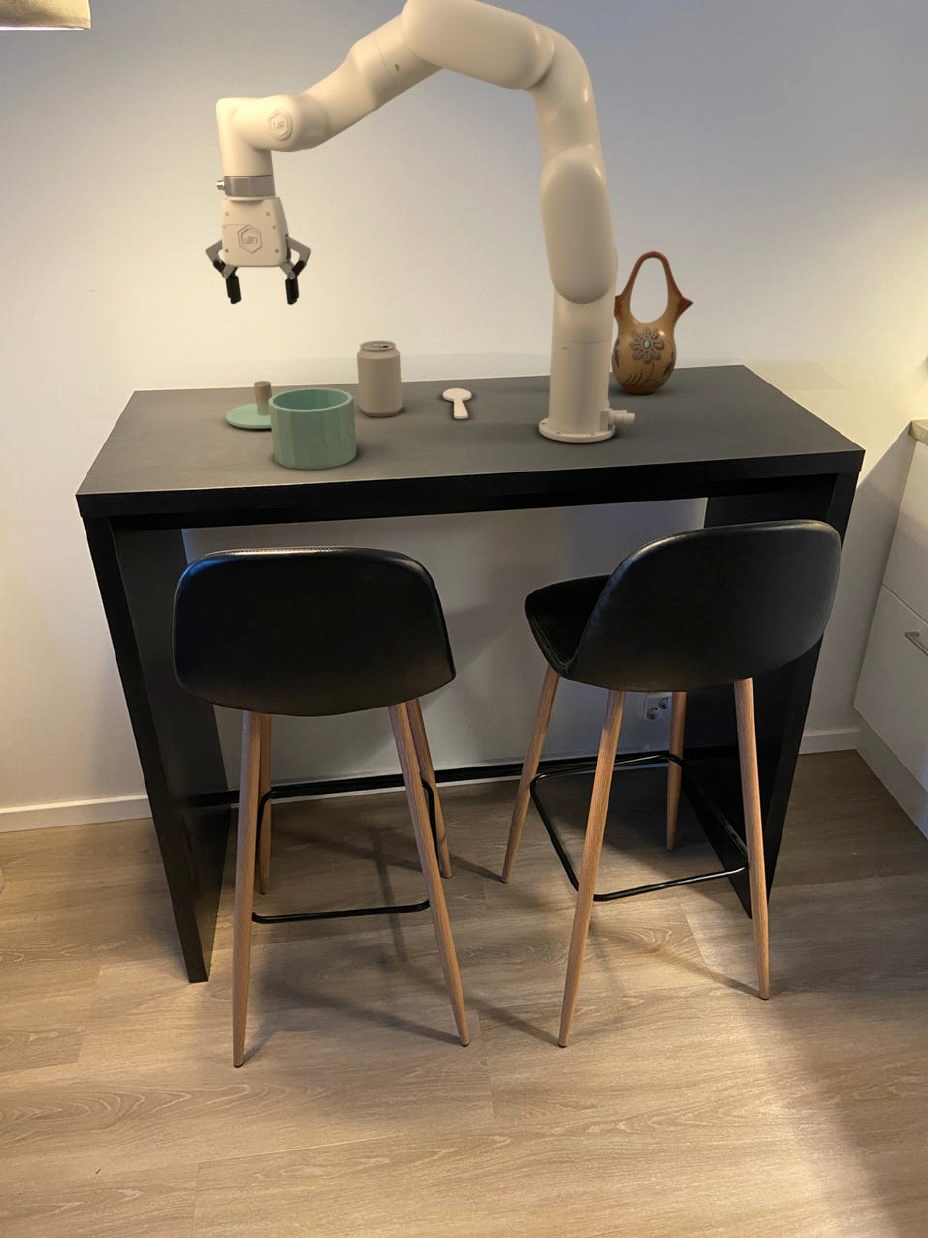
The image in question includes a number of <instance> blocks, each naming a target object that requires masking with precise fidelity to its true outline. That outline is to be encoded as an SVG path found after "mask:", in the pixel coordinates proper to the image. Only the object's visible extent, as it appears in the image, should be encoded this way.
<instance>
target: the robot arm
mask: <svg viewBox="0 0 928 1238" xmlns="http://www.w3.org/2000/svg"><path fill="white" fill-rule="evenodd" d="M443 69H446V70H448V71H451V72H455V73H457V74H461V75H464V76H467V77H470V78H473V79H476V80H479V81H482V82H486V83H488V84H491V85H494V86H496V87H500V88H503V89H507V90H514V91H515V90H516V91H517V90H523V91H526V92H527V93H528V95H529V96H530V98H531V100H532V101H533V105H534V109H535V116H536V125H537V131H538V136H539V141H540V148H541V156H542V157H541V158H542V165H543V170H542V172H541V175H540V178H539V181H538V203H539V212H540V215H541V216H540V217H541V224H542V229H543V236H544V243H545V249H546V250H545V251H546V256H547V263H548V269H549V275H550V280H551V283H552V285H553V287H554V288H553V305H552V324H551V325H552V326H551V327H552V328H551V347H550V369H549V371H550V372H549V375H550V376H549V396H548V397H549V398H548V417H545V418H544V419H542V420H541V421H540V422H539V423H538V432H539V433H540V434H541V435H542V436H543V437H545V438H547V439H550V440H554V441H558V442H563V443H572V444H573V443H574V444H586V443H596V442H601V441H605V440H608V439H610V438H612V436H614V435H615V433H616V425H623V426H634V425H635V414H636V413H634V412H633V413H632V412H628V410H627V409H615V410H614V409H613V408H612V407H611V408H610V400H608V399H609V385H610V370H611V354H612V344H613V331H614V320H615V317H614V306H615V296H616V293H617V292H616V291H617V279H618V271H619V270H618V268H619V255H618V254H619V253H618V249H617V246H616V243H615V242H614V233H613V226H612V216H611V208H610V207H611V206H610V199H609V190H608V184H609V180H608V179H609V177H608V173H607V168H606V166H605V162H604V157H603V151H602V143H601V142H602V141H601V134H600V126H599V120H598V115H597V108H596V100H595V94H594V90H593V83H592V79H591V76H590V73H589V70H588V67H587V65H586V62H585V61H584V59H583V56H582V55H581V53H580V52H579V50H578V49H577V48H576V46H574V44H573V43H572V42H571V41H570V40H569V39H568V38H567V37H566V36H565V35H563V34H561V33H560V32H558V31H556V30H555V29H552V28H550V27H548V26H547V25H543V24H541V23H538V22H536V21H534V20H532V19H531V18H529V17H527V16H526V15H525V16H524V15H522V14H520V13H517V12H513V11H510V10H507V9H504V8H500V7H498V6H495V5H492V4H488V3H485V2H483V1H479V0H406V2H405V4H404V6H403V8H402V11H401V13H399V14H398V15H396V16H394V17H393V18H392V19H390V20H388V21H386V23H384V24H383V25H381V26H379V27H378V28H376V29H375V30H373V31H370V33H369V34H367V35H365V36H364V37H362V38H360V39H358V40H357V41H356V42H355V43H354V44H353V45H352V46H351V47H350V49H349V51H348V53H347V55H346V57H345V60H344V61H343V62H342V63H341V64H340V65H339V66H338V68H336V69H335V70H334V71H333V72H332V73H330V74H328V75H327V76H326V77H324V78H323V79H322V80H320V81H318V82H317V83H315V84H314V85H312V86H311V87H309V88H307V89H306V90H304V91H302V92H301V93H291V94H289V93H287V94H285V93H284V94H276V95H271V96H266V97H260V98H259V97H255V96H237V97H236V96H234V97H233V96H232V97H222V98H221V99H219V100H218V101H216V104H215V116H216V124H217V131H218V139H219V146H220V154H221V162H222V171H223V176H222V179H221V180H217V182H216V188H217V189H218V191H224V195H225V196H226V198H222V199H221V206H220V207H221V208H220V225H221V226H220V227H221V239H219V240H218V241H216V242H214V243H213V244H211V245H210V246H208V247H207V248H206V249H205V253H206V255H207V257H208V259H209V261H210V262H211V263H212V266H213V268H214V269H216V271H217V272H218V273H220V274H221V277H222V278H223V279H225V286H226V288H225V289H226V295H227V298H228V299H229V301H230V304H231V305H236V304H237V303H240V302H241V301H242V293H241V286H240V285H241V284H240V277H239V276H238V275H236V274H237V271H238V269H239V268H267V269H268V268H279V269H280V270H281V271H282V272H283V273H284V274H285V275H286V279H285V280H284V286H285V295H286V303H287V305H288V306H293V305H294V304H296V303H298V300H299V299H300V289H299V280H298V279H299V278H298V277H299V276H300V274H301V273H302V272H303V270H305V268H306V267H307V265H308V262H309V259H310V256H311V253H312V249H311V248H310V247H309V246H307V245H305V244H304V243H301V242H300V241H299V240H296V239H294V238H292V237H290V232H289V227H288V223H287V218H286V214H285V210H284V205H283V203H282V200H281V197H279V196H277V193H276V184H275V175H274V165H273V156H272V151H274V152H281V153H295V152H300V151H307V150H313V149H316V148H317V147H319V146H321V145H322V144H324V143H326V142H328V141H329V140H331V139H333V138H335V137H336V136H338V135H339V134H341V133H342V132H344V131H346V130H347V129H350V127H353V126H354V125H356V124H357V123H359V122H360V121H361V120H363V119H364V118H365V117H367V116H368V115H370V114H373V113H374V112H376V111H378V110H379V109H380V108H382V107H383V106H384V105H386V104H387V103H389V102H391V101H392V100H394V99H395V98H396V97H399V96H400V95H401V94H403V93H405V92H407V91H408V90H410V89H411V88H413V87H414V86H417V85H418V84H419V83H421V82H422V81H424V80H426V79H428V78H430V77H431V76H433V75H435V74H436V73H438V72H440V71H442V70H443ZM220 251H222V255H223V259H221V257H220V255H219V252H220ZM292 251H294V252H297V254H299V257H298V260H297V262H296V263H295V264H294V262H292Z"/></svg>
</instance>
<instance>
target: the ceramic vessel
mask: <svg viewBox="0 0 928 1238" xmlns="http://www.w3.org/2000/svg"><path fill="white" fill-rule="evenodd" d="M649 259H657V260H659V261H660V262H661V265H662V269H663V271H664V276H665V282H666V289H667V301H666V307H665V310H664V311H663V313H662V314H661V315H660V316H659V317H658V318H657V319H655V320H653V321H650V322H641V321H639V320H638V319H637V318H636V317H635V316H634V315H633V313H632V310H631V300H632V293H633V290H634V289H633V288H634V286H635V282H636V279H637V277H638V274H639V273H640V270H641V267H642V265H643V263H644V262H645V261H646V260H649ZM693 304H694V302H693V301H692V300H691V299H689V298H687V297H685V296H683V293H682V292H681V290H680V289H679V287H678V285H677V283H676V280H675V279H674V276H673V273H672V270H671V266H670V263H669V260H668V258H667V256H665V255H664V253H661V252H659V251H655V250H651V251H647V252H645V253H643V254H642V255H640V256H639V257H638V258H637V260H636V262H635V264H634V266H633V268H632V270H631V272H630V275H629V277H628V279H627V282H626V285H625V286H624V288H623V290H622V292H621V293H620V294H618V295H615V306H614V320H615V321H616V325H617V335H616V339H615V341H614V343H613V346H612V348H611V359H610V367H611V371H612V374H613V376H614V378H615V381H616V382H617V384H619V385H620V387H621V388H622V389H623V390H624V391H626V392H628V393H631V394H640V395H645V394H653V393H654V392H656V391H658V390H659V389H661V387H663V386H664V385H665V384H666V383H667V382H668V380H669V379H670V377H671V375H672V374H673V372H674V369H675V367H676V364H677V363H676V362H677V351H678V350H677V345H676V341H675V328H676V325H677V323H678V321H679V320H680V317H682V315H683V314H684V313H685V312H686V311H687V310H688V309H689V308H690V307H691V306H693Z"/></svg>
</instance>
